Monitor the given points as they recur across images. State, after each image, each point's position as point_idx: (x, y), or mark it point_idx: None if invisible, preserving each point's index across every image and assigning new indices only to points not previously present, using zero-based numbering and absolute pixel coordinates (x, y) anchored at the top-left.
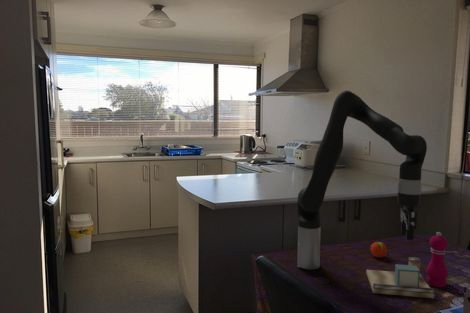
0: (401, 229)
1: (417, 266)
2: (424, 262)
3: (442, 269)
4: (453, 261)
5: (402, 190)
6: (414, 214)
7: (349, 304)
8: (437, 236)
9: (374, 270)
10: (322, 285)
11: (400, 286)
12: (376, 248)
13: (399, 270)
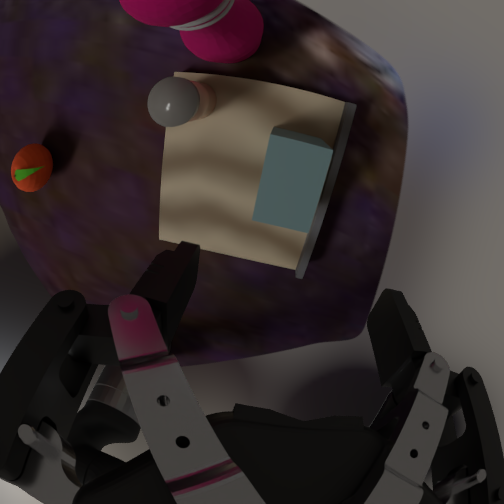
0: (186, 303)
1: (203, 95)
2: (69, 37)
3: (253, 14)
4: None
5: None
6: (488, 492)
7: (348, 326)
8: None
9: (162, 218)
10: (253, 345)
11: (325, 209)
12: (37, 181)
13: (309, 225)
